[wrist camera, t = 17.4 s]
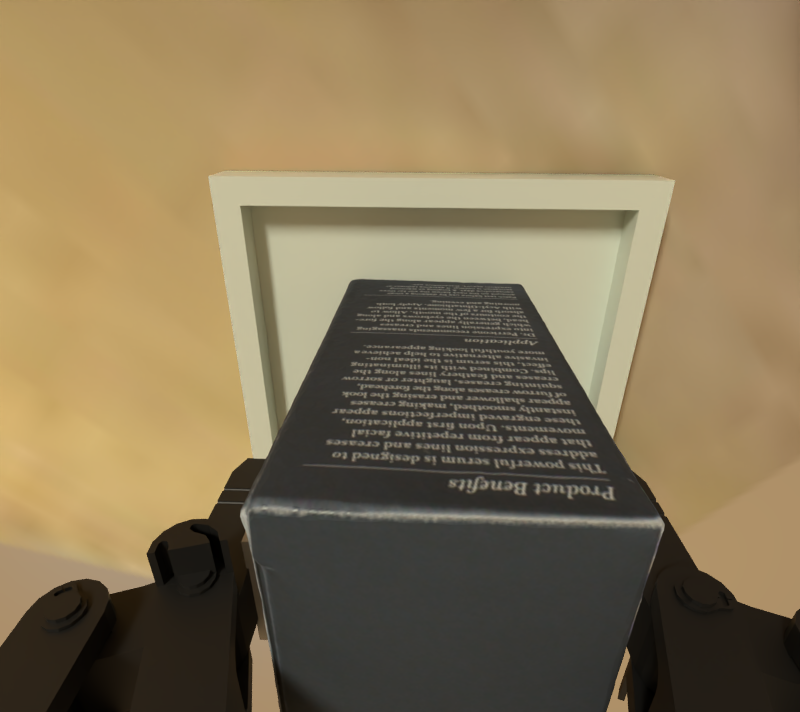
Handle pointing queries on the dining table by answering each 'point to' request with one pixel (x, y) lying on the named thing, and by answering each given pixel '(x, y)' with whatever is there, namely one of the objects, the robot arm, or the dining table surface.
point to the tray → (433, 262)
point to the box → (446, 515)
